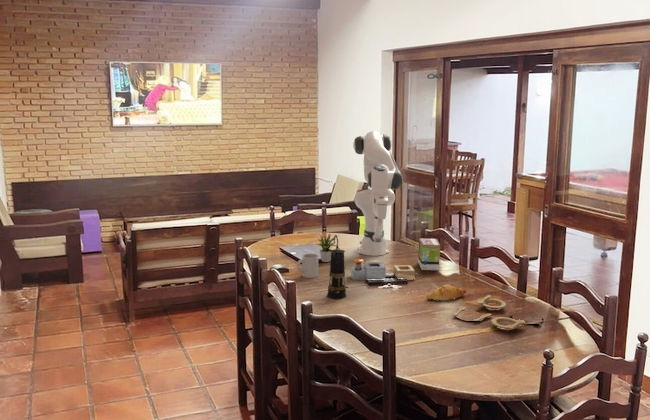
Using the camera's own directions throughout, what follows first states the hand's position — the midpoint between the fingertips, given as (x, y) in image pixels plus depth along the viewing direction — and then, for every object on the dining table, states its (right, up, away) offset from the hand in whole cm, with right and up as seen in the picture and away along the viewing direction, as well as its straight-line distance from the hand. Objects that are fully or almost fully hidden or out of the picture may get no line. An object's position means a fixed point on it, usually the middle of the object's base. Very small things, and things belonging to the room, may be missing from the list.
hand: (378, 224), depth 317 cm
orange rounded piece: (-10, -28, +5) cm, 30 cm away
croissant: (+30, -35, -24) cm, 52 cm away
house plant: (-27, -22, +35) cm, 49 cm away
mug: (-37, -28, +7) cm, 47 cm away
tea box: (+30, -25, +26) cm, 47 cm away
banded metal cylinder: (0, -9, +2) cm, 9 cm away
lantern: (-22, -34, -23) cm, 47 cm away
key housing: (-10, -29, +5) cm, 31 cm away
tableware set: (+48, -41, -49) cm, 80 cm away
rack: (+14, -28, +7) cm, 32 cm away
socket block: (-2, -28, +6) cm, 29 cm away
